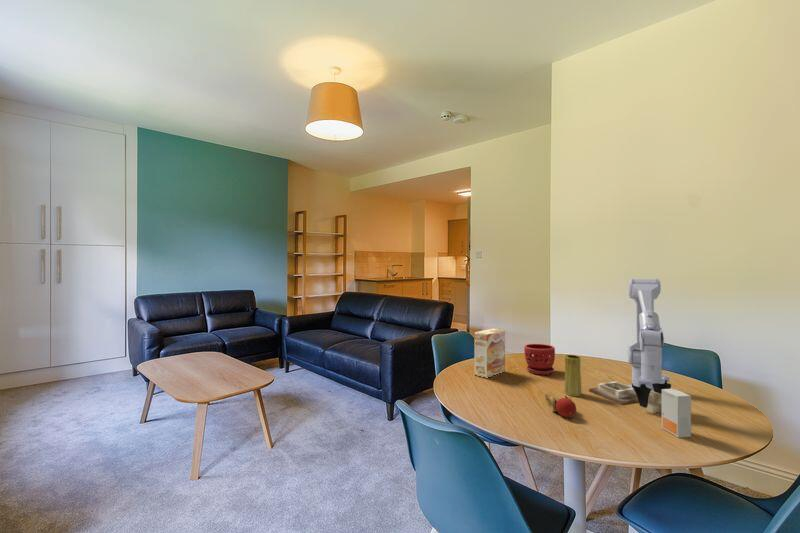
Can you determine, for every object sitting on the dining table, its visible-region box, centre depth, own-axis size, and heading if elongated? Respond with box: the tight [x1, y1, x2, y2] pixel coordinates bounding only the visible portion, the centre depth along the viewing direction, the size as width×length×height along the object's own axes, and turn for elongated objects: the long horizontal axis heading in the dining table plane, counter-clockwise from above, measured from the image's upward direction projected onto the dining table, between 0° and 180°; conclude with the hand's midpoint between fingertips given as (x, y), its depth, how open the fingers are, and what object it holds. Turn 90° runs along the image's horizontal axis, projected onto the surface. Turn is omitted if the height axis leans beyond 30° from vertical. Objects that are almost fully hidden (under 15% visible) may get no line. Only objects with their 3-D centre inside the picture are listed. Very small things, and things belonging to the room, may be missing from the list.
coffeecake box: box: [473, 328, 506, 379], centre depth 162 cm, size 15×7×20 cm, turn 132°
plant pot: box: [524, 343, 556, 375], centre depth 165 cm, size 13×13×12 cm
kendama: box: [544, 390, 577, 419], centre depth 123 cm, size 8×6×18 cm
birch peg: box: [640, 391, 662, 414], centre depth 121 cm, size 4×4×6 cm
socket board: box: [588, 380, 639, 405], centre depth 135 cm, size 12×14×4 cm
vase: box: [563, 354, 582, 397], centre depth 137 cm, size 6×6×14 cm
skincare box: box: [660, 388, 692, 439], centre depth 105 cm, size 6×4×12 cm
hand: (651, 405), depth 121 cm, fingers open, 7 cm apart
